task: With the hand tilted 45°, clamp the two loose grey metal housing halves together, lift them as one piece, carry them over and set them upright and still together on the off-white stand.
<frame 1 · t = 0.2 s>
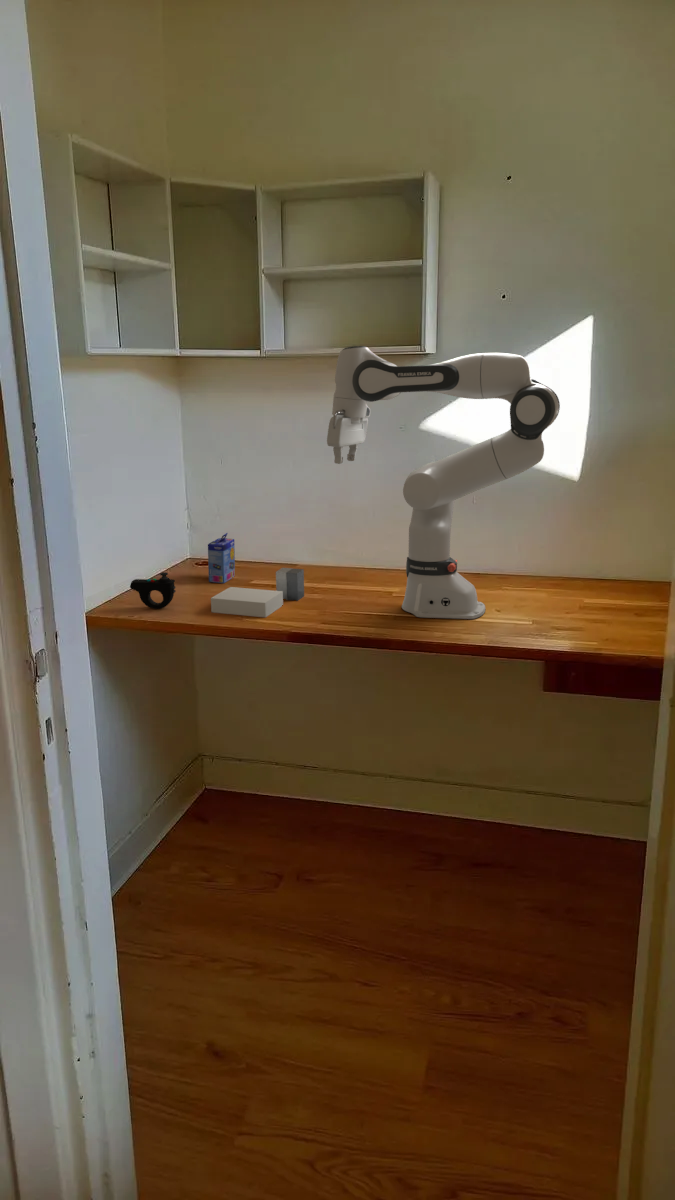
hand: (344, 462, 227), 39 cm above the table, tool pointing down, fingers open, 8 cm apart
controller: (154, 608, 233), on the table
ink cartridge box: (222, 580, 263), on the table
housing half 1: (285, 597, 243), on the table
housing half 2: (295, 598, 242), on the table
stand: (247, 608, 232), on the table
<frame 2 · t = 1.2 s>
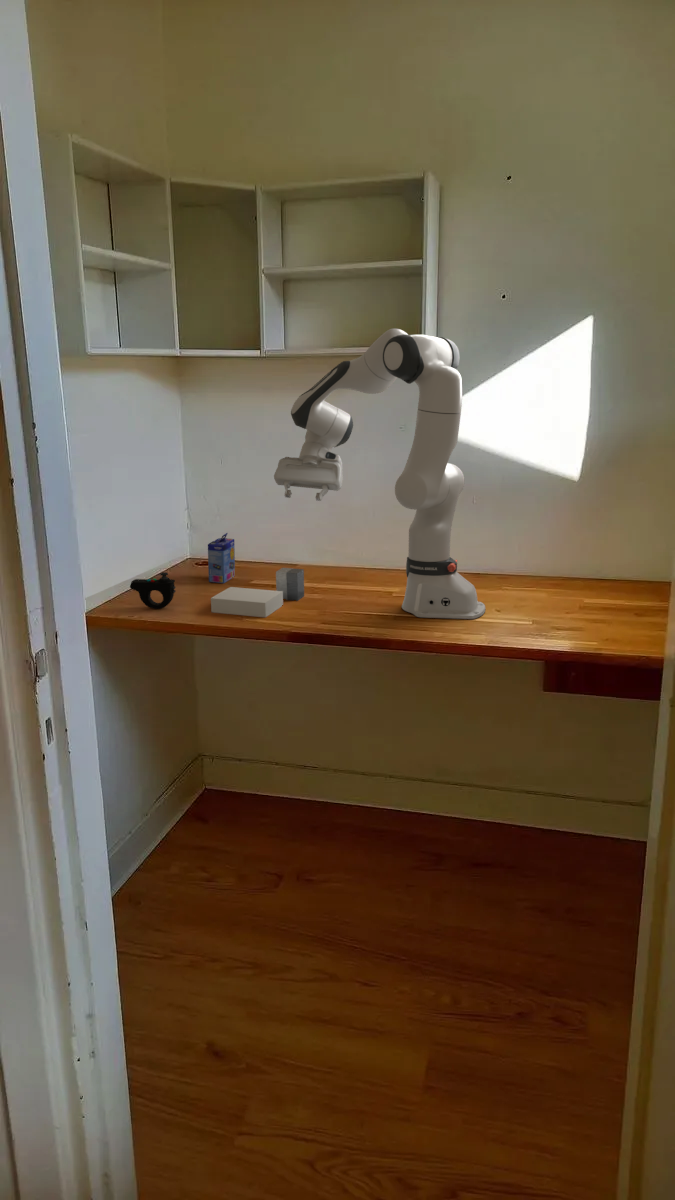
hand: (302, 498, 245), 27 cm above the table, tool tilted 45°, fingers open, 8 cm apart
nothing on the table moved.
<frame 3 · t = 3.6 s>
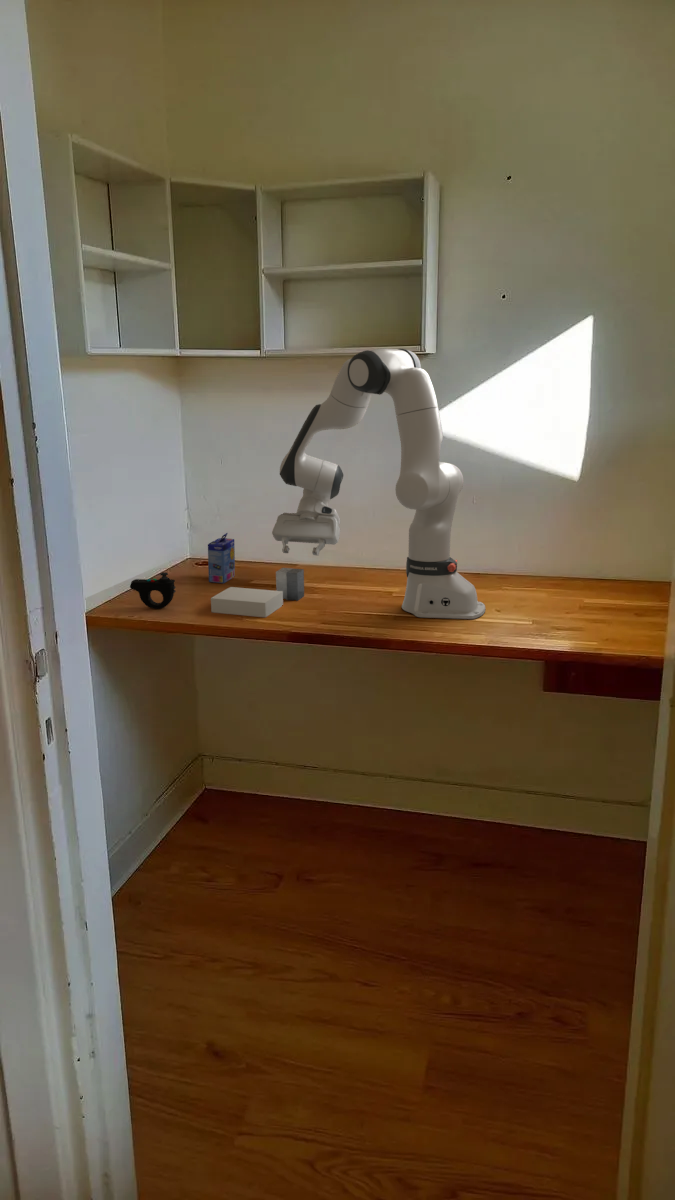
hand: (300, 553, 247), 11 cm above the table, tool tilted 45°, fingers open, 8 cm apart
nothing on the table moved.
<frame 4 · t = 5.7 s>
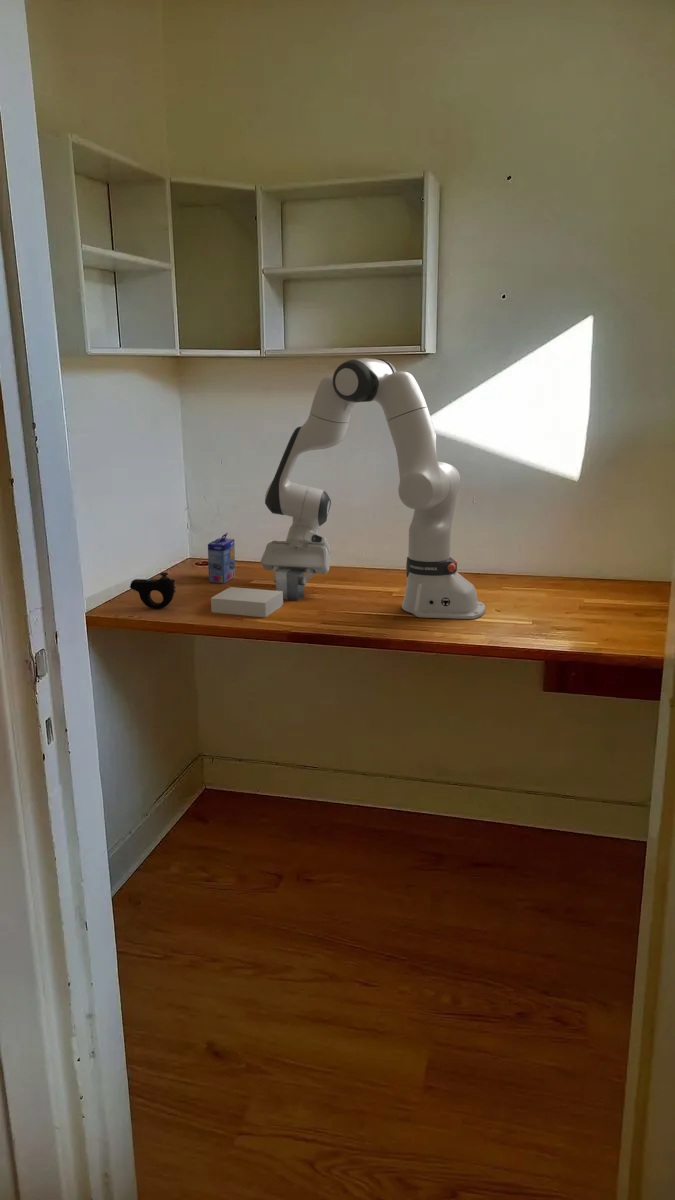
hand: (289, 583, 240), 4 cm above the table, tool tilted 45°, fingers open, 6 cm apart
housing half 1: (285, 597, 243), on the table, touching gripper
housing half 2: (295, 598, 242), on the table, touching gripper
everything else where it was.
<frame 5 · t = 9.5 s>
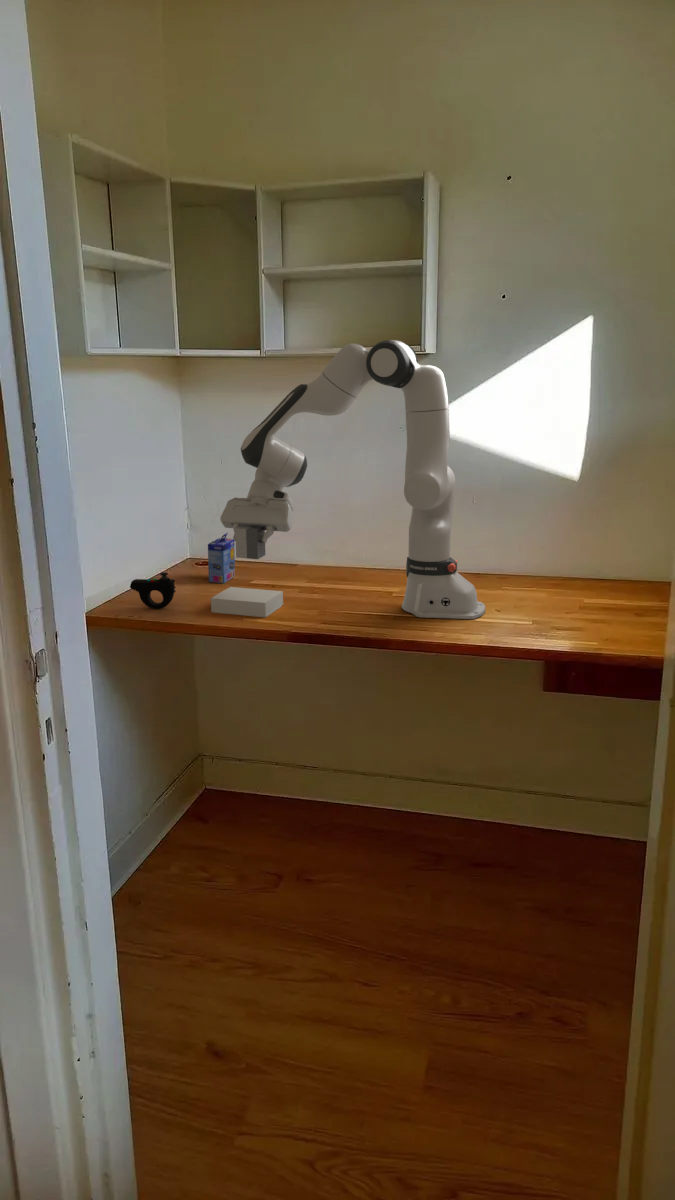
hand: (249, 541, 228), 19 cm above the table, tool tilted 45°, fingers open, 6 cm apart
housing half 1: (245, 555, 230), point 14 cm above the table, touching gripper, housing half 2
housing half 2: (256, 556, 229), point 14 cm above the table, touching gripper, housing half 1
everything else where it was.
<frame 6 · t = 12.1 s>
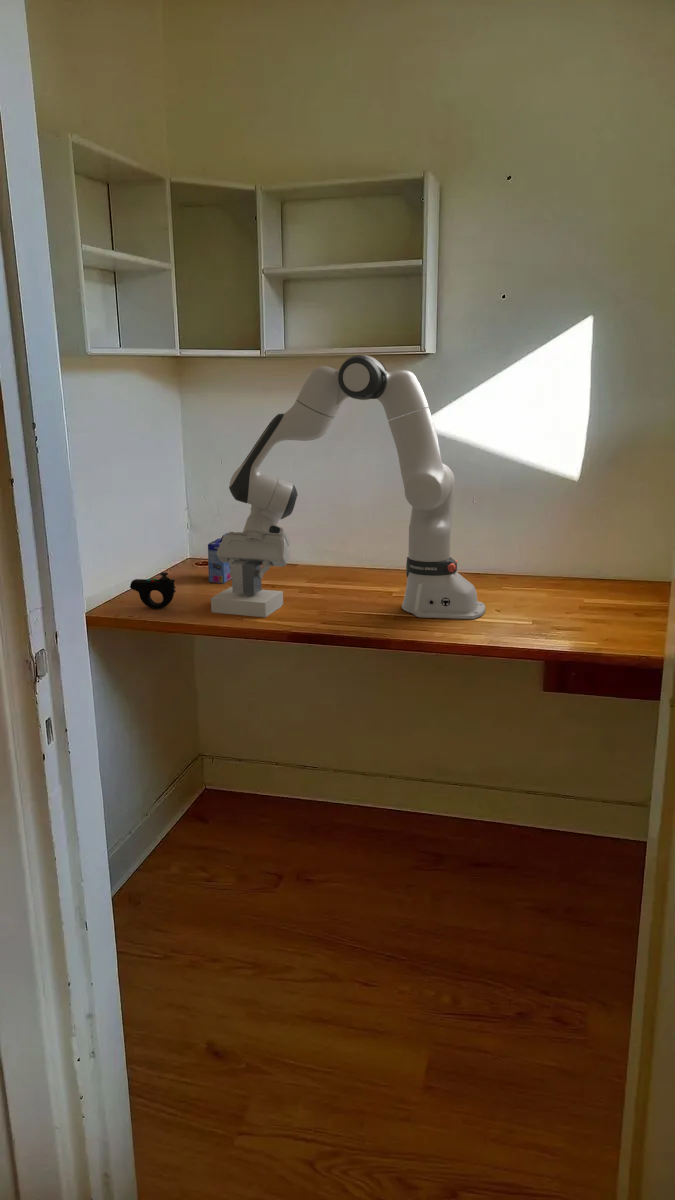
hand: (245, 576, 229), 9 cm above the table, tool tilted 45°, fingers open, 6 cm apart
housing half 1: (241, 590, 231), point 5 cm above the table, touching gripper, housing half 2
housing half 2: (252, 591, 230), point 5 cm above the table, touching gripper, housing half 1
everything else where it was.
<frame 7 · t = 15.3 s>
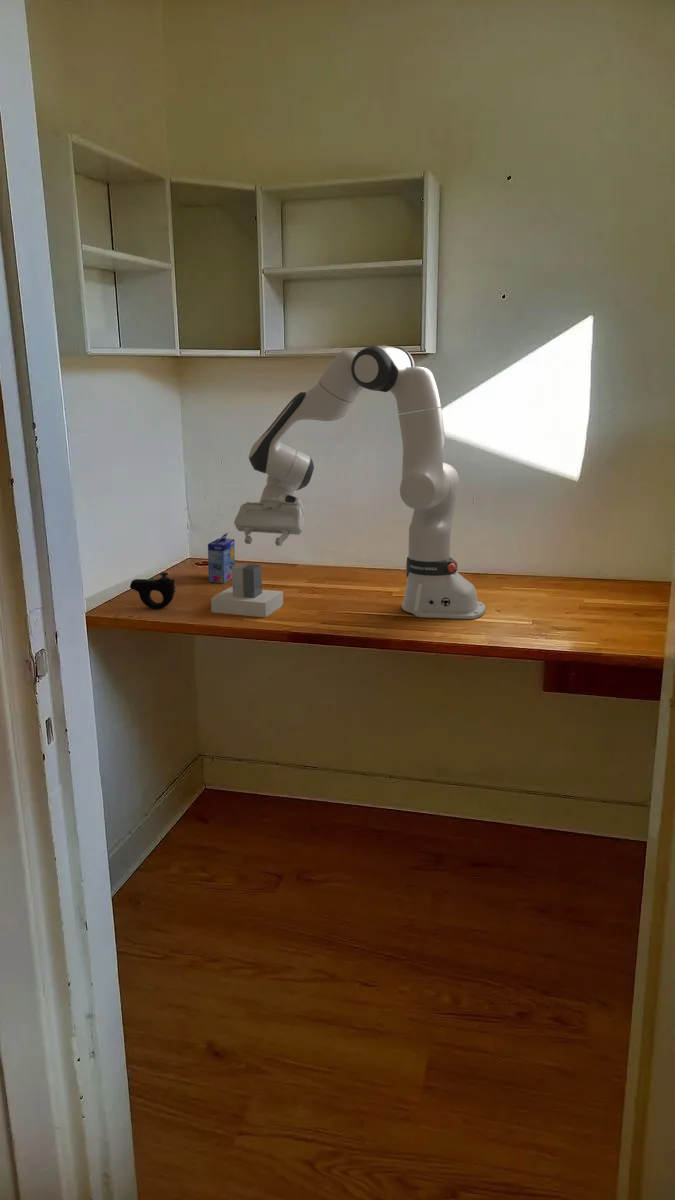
hand: (262, 543, 238), 16 cm above the table, tool tilted 45°, fingers open, 8 cm apart
housing half 1: (242, 594, 231), point 4 cm above the table, touching stand
housing half 2: (252, 595, 230), point 4 cm above the table, touching stand
everything else where it was.
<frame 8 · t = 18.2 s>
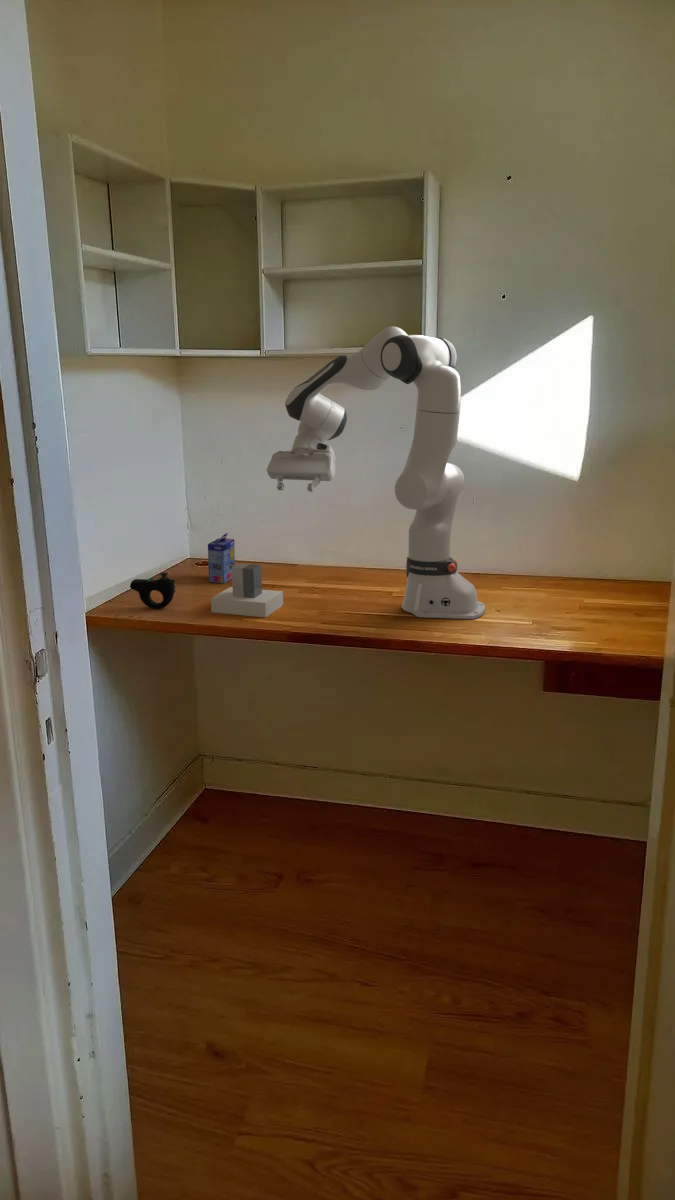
hand: (294, 489, 244), 29 cm above the table, tool tilted 45°, fingers open, 8 cm apart
nothing on the table moved.
at the end: housing half 2 inside the target area on the stand (0.7 cm from its centre), point 4.0 cm above the stand's base; housing half 1 inside the target area on the stand (0.5 cm from its centre), point 4.0 cm above the stand's base; housing half 2 3.2 cm from the housing half 1 (horizontally) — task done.
